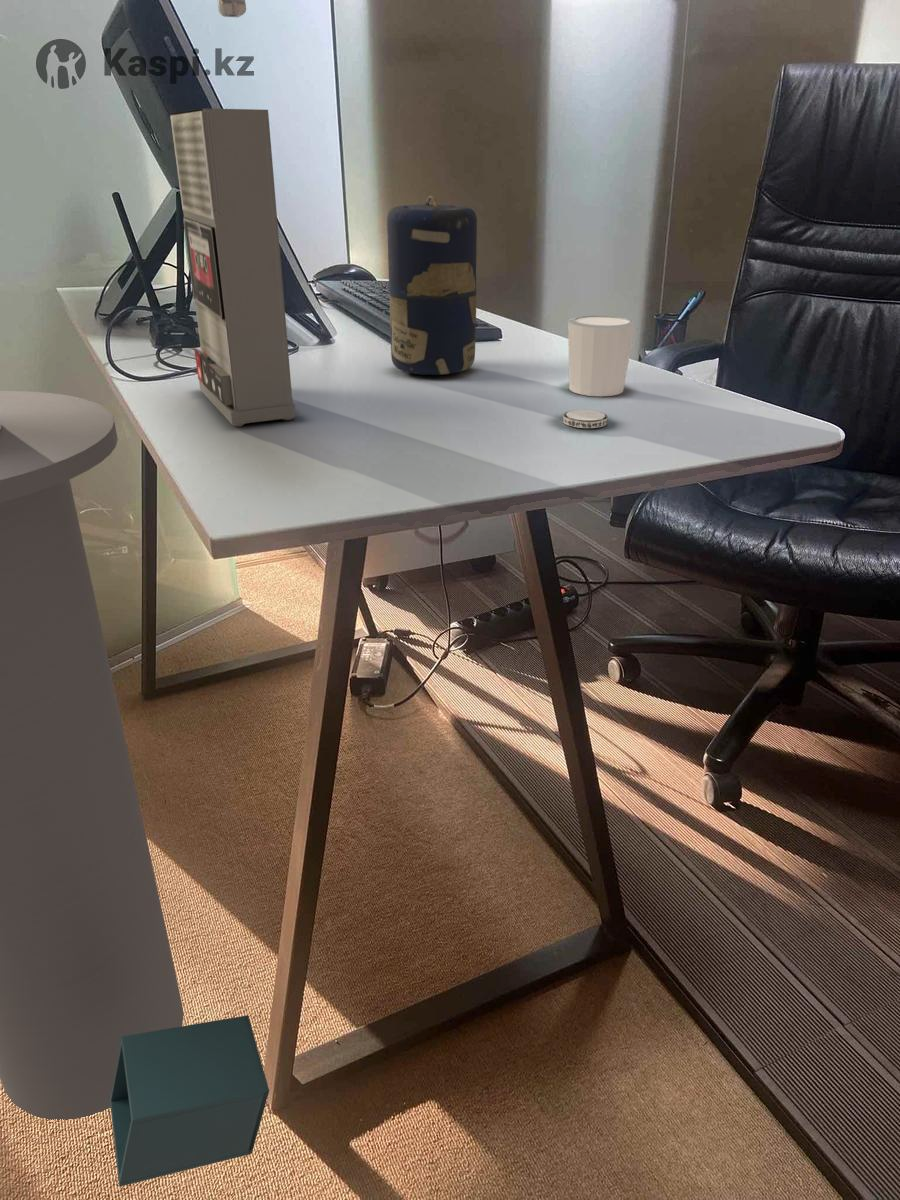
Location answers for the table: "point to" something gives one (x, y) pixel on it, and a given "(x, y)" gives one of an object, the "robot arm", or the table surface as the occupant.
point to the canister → (432, 287)
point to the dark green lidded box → (186, 1098)
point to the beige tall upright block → (234, 261)
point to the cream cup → (599, 354)
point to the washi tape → (585, 419)
